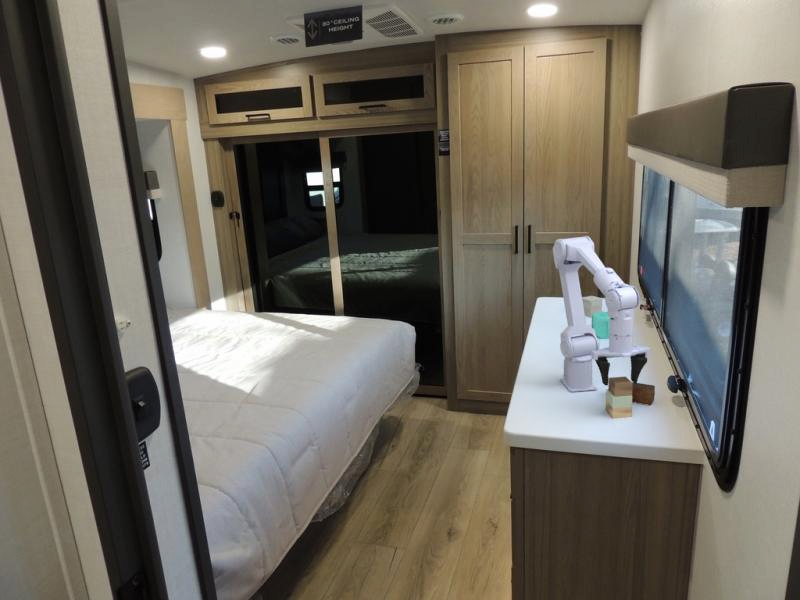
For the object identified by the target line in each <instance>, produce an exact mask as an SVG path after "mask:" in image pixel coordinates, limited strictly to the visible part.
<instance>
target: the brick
mask: <svg viewBox="0 0 800 600" xmlns="http://www.w3.org/2000/svg"><path fill="white" fill-rule="evenodd" d="M631 382H632V383H633V387H632V403H635V402H636V403H635V404H640V403H641V405H645V404H648V405H647V406H652V405H653V403H654V401H655V394H656V388H655V387H656V386H655V385H653V384H647V383H641V382H637V383H634V382H633V381H631Z"/></svg>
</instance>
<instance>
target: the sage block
mask: <svg viewBox="0 0 800 600" xmlns="http://www.w3.org/2000/svg"><path fill="white" fill-rule="evenodd" d="M605 390H606V391H605V402H606V401H607V402H608V403H609V404H610V406H611V407H612V408H621V407H632V408H633V402H632V396H620V397H615V396H614V395H613V394H612V393H611V392H610V391H609V390H608V389H605Z"/></svg>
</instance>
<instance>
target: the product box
mask: <svg viewBox="0 0 800 600" xmlns="http://www.w3.org/2000/svg"><path fill="white" fill-rule="evenodd" d="M582 301H583V307H584V313H585V317H587V318H590V319H592V315H593V314H594V313H596V312H603V298H602V297H598V296H594V295H588V296H582Z"/></svg>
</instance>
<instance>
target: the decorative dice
mask: <svg viewBox="0 0 800 600" xmlns="http://www.w3.org/2000/svg"><path fill="white" fill-rule="evenodd" d="M609 325H610V316H608V311H602V312H596V313H594V314H593V315H592V318H591V327H592V328H593V329H594V330H595V333H596V337H597V339H600V340H601V339H602V340H605V339H606V340H609Z"/></svg>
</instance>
